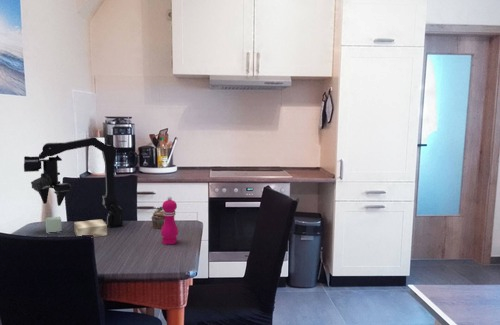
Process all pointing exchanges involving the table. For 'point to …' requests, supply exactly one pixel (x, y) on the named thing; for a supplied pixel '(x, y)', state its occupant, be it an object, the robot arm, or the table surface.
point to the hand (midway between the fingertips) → (52, 204)
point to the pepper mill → (169, 222)
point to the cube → (53, 224)
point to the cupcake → (158, 218)
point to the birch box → (90, 228)
